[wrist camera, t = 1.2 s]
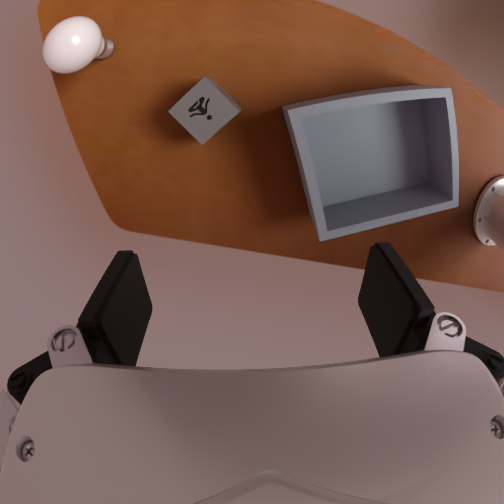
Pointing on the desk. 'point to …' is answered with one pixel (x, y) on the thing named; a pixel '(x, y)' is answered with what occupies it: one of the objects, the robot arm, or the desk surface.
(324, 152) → the box
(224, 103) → the dice cube
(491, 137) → the desk surface
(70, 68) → the lightbulb
